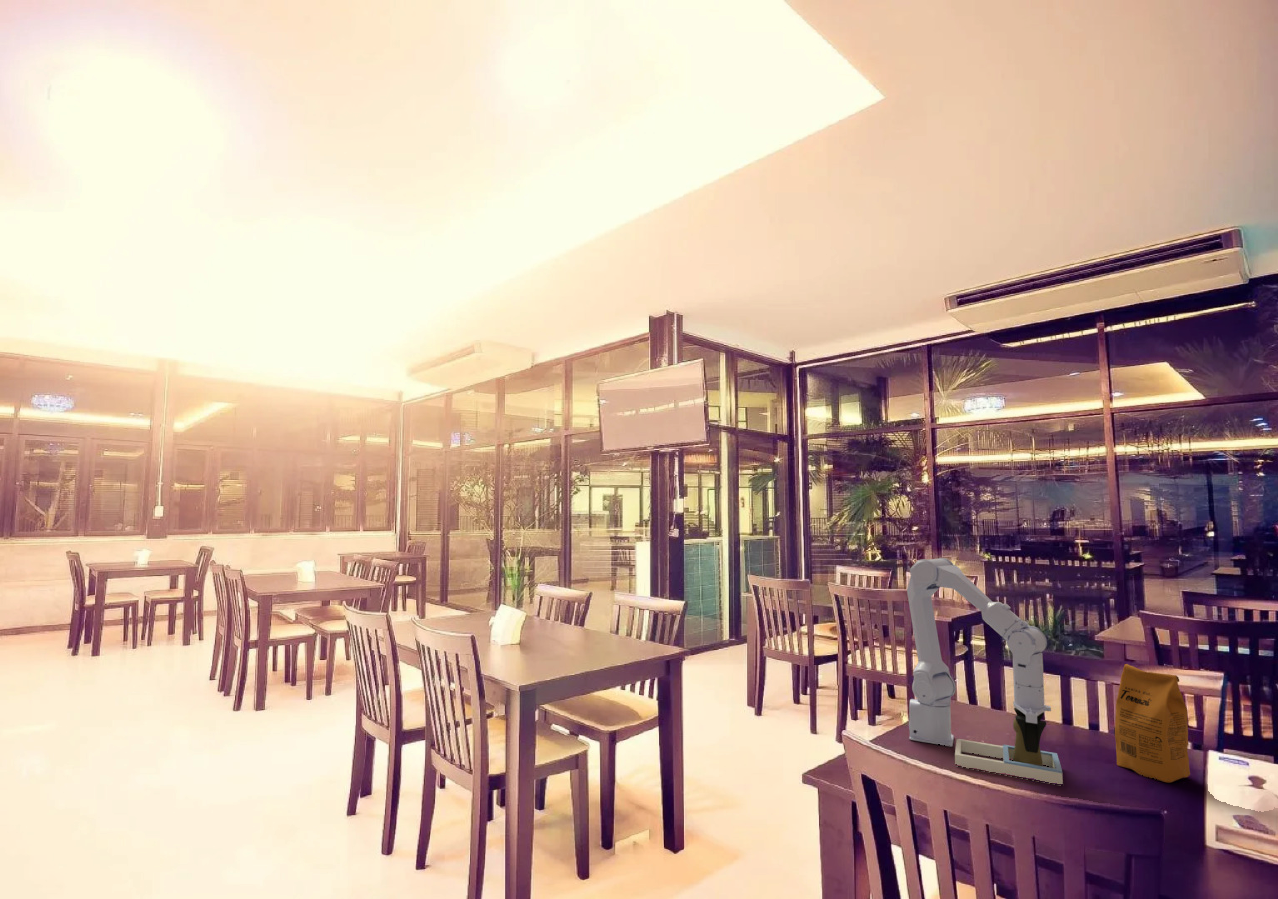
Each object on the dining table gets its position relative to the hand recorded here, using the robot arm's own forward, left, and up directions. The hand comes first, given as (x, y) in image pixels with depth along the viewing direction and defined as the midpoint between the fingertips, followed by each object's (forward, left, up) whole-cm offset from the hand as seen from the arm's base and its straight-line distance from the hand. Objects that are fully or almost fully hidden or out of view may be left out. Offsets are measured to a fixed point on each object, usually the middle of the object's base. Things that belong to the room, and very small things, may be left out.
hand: (1030, 747), depth 141 cm
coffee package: (+23, +13, -5) cm, 27 cm away
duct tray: (-5, 0, -5) cm, 7 cm away
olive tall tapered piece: (-1, 0, -5) cm, 5 cm away
